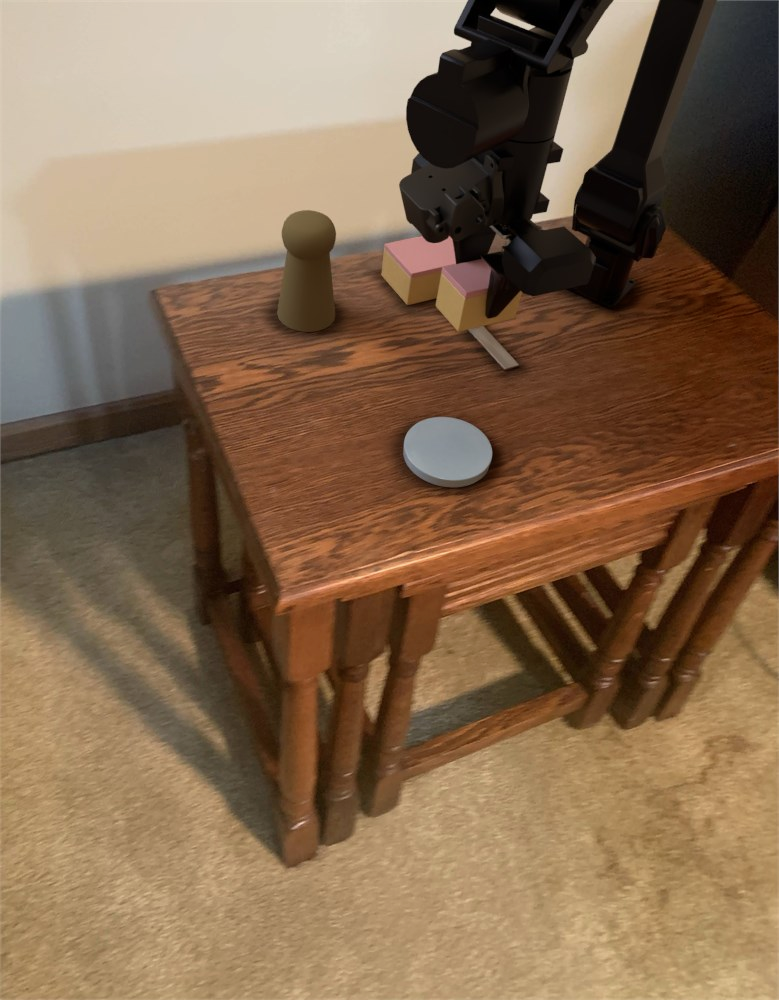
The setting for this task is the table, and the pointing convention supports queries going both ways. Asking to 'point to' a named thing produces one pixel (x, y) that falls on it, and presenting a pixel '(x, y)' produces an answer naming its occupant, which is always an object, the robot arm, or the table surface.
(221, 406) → the table surface
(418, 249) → the cake
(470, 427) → the plate
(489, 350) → the knife
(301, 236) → the pepper mill
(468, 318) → the cake slice
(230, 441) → the table surface
